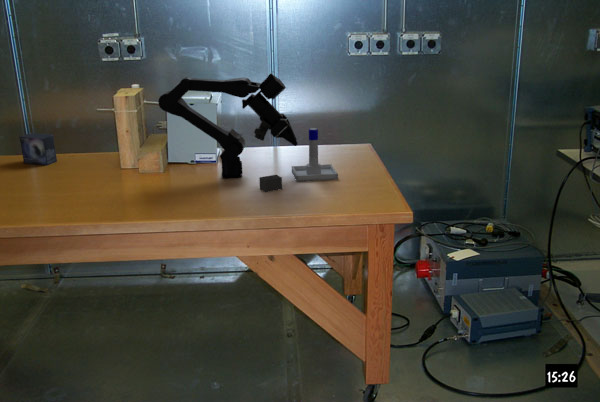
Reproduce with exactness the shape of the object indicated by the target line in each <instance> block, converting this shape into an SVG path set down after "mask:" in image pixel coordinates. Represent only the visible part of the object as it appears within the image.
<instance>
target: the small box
mask: <svg viewBox="0 0 600 402" xmlns="http://www.w3.org/2000/svg"><path fill="white" fill-rule="evenodd" d="M54 140H55V137H54V134H51V133H50V134H49V133H37V132H29V133H26V134H24V135H21V136H19V141H20V142H19V143H20V148H21V154H22V159H23V164H25V163H26V165H37V166H38V165H39V166H49V165H52V164H54V163H56V162H58V159H57V152H56V144H55V141H54Z"/></svg>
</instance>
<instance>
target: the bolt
mask: <svg viewBox="0 0 600 402" xmlns="http://www.w3.org/2000/svg"><path fill="white" fill-rule="evenodd" d="M321 165H322V164H321V163H319V129H318V128H316V127H311V128H309V129H308V163H307V164H306V165H305V166H306V173H307V174H308V175H316V174H321Z"/></svg>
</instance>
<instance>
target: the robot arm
mask: <svg viewBox="0 0 600 402" xmlns="http://www.w3.org/2000/svg"><path fill="white" fill-rule="evenodd" d="M285 89H287V87H286V85H285V83H283V81H282V80H281V79H279V78H278V77H277V76H275V75H274V74H273V73H272V72H270V73H269V74H268V75H267V76H266V78H265V79H264V80H263V81H262V82H257V81H256V82H255V81H251V80H250V79H249V78H248V77H237V78H236V77H235V78H230V79H213V78H198V77H195V78H194V77H191V76H187V77H184V78H182V79H181V80H180V82H179V83H178V84H177V85H175V86H174V87H173V88H172V90H169V91H166V92H164V93H163V94H162V95H160V96H159V99H158V100H157V101H158V107H159V109H161V110H162V111H164V112H166V113H167V114H171V115H173V116H177V117H180V118H182V119H184V120H185V121H187V122H188V123H189V124H191V125H192V126H194V127H196V128H197V129H199V130H200V131H201V132H203V133H204V134H206V135H207V136H209V137H211V138H212V139H214V140H215V141H216V142H217V143H218V144H219V145H220V147H221V148H222V149H223V150H222V152H221V153H220V155H219V158H220V161H221V178H222V179H237V178H242V175H243V162H242V160H241V157H240V155H242V154H243V152H244V149H245V147H246V140H245V138H244V137H243V136H242V135H243V134H242V133H238V132H237V131H236V130H235V129H234V128H230V131H229V130H226V129H223V128H222V127H220V126H219V125H217V123H214V122H213V121H211V120H209V119H208V118H207V117H205V116H203V115H202V114H201V113H199V112H198V111H197V110H195V109H193V108H192V107H190V105H189V104H188V103H187V102H186V100H185V99H184V98H183V97H184V96H185V95H186V94H187V93H188V91H193V92H210V93H224V94H227V95H230V96H232V97H237V98H242V99H241V104H242V106H241V107H242V110H245V108H246V107H247V106H248V107H249V108H250V109H251V110H252V111H253V112H254V113H255V115H257V116H258V117H259V120H260V124H259V125H258V127H255V129H254V131H253V133H254V134H255V135H254V138H255V139H257V140H260V141H262V142H264V140H265V138H266V134H267V133H268V131H270V134H271V135H272V136H273V137H274V138H276V139H279V138H282V139H283V140H284V141H285V140H286V141H287V142H289V143H290V144H291V145H293V146H295V147H297V146H298V142H297V140H298V139H297V138H296V135H295V133H294V130H293V127H292V126H291V122H290V120H289V119H288V117H287V116H286V114H284V113H281V112H279V111H278V110H277V109H276V108H275V106H274V105H273V104H271V102H269V100H274V99H276V98H277V97H278V96H279V95H280V94H281V93H282V92H283V91H284V90H285ZM254 93H256V94H254ZM244 98H246V99H244Z"/></svg>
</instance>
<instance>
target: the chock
mask: <svg viewBox="0 0 600 402" xmlns="http://www.w3.org/2000/svg"><path fill="white" fill-rule="evenodd" d="M278 189H281V190H283V178H282V177H281V176H280V175H278V174H272V175H265V176H260V177H259V190H261V191H262V190H263V191H262V192H264V193H269V192H274V191H273V190H275V191H279V190H278ZM268 191H269V192H268Z"/></svg>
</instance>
